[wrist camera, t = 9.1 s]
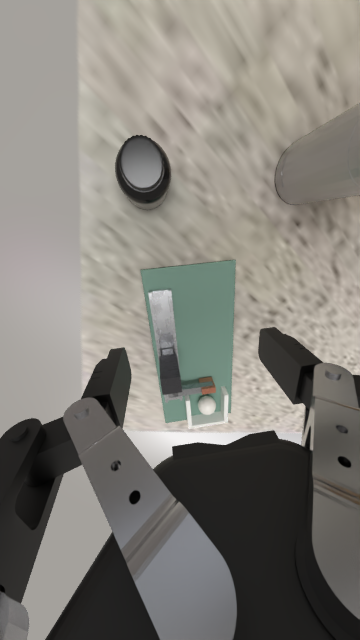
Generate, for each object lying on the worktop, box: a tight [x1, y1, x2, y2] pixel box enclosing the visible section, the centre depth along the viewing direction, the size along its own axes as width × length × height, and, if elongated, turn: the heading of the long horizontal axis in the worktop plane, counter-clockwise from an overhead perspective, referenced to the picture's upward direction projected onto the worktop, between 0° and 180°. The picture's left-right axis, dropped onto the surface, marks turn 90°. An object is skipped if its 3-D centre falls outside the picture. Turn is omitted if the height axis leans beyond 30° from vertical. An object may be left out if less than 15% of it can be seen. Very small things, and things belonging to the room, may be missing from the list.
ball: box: [198, 396, 216, 415], centre depth 50 cm, size 4×4×4 cm
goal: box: [185, 386, 228, 429], centre depth 52 cm, size 10×10×3 cm
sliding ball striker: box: [159, 349, 216, 398], centre depth 42 cm, size 12×12×10 cm
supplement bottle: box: [115, 135, 171, 210], centre depth 27 cm, size 7×7×12 cm
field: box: [141, 260, 236, 423], centre depth 47 cm, size 18×41×1 cm, turn 5°
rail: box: [148, 288, 183, 403], centre depth 44 cm, size 4×28×2 cm, turn 5°
